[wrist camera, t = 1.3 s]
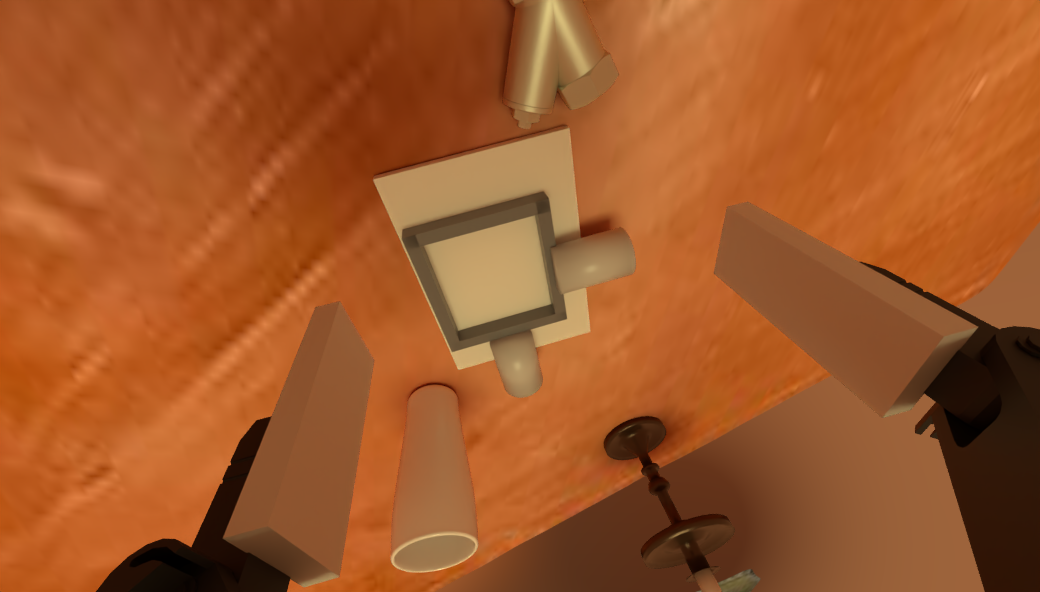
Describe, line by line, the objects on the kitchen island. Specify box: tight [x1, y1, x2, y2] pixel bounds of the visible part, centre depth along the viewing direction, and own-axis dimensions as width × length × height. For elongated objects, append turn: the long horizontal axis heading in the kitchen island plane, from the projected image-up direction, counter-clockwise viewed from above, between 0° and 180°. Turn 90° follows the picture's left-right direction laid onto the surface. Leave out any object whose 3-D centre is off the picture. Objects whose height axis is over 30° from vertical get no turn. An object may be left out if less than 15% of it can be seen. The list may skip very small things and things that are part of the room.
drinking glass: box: [391, 385, 478, 572], centre depth 34 cm, size 7×7×15 cm
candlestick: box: [604, 416, 735, 592], centre depth 40 cm, size 11×11×35 cm
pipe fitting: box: [502, 0, 619, 129], centre depth 22 cm, size 8×4×7 cm
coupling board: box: [373, 126, 636, 397], centre depth 31 cm, size 22×17×5 cm
